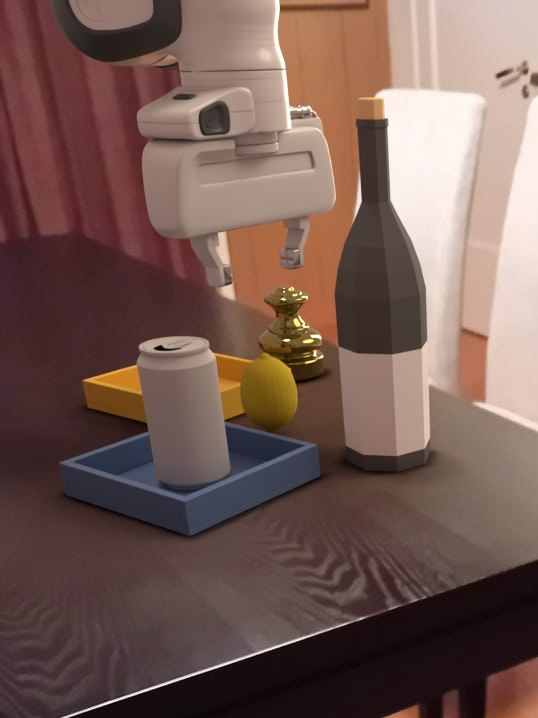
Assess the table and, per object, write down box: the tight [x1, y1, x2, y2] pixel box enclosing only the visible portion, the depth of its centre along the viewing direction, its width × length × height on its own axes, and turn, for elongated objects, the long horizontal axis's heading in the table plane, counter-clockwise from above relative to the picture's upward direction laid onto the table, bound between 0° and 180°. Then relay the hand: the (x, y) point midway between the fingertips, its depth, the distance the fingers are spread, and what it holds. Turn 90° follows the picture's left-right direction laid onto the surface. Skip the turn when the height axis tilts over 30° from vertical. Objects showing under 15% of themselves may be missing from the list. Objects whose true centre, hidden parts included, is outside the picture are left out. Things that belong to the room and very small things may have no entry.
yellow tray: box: [81, 352, 291, 424], centre depth 110 cm, size 16×16×3 cm
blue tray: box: [58, 421, 321, 537], centre depth 89 cm, size 16×16×3 cm
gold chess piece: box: [257, 284, 325, 382], centre depth 117 cm, size 7×7×10 cm
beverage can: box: [136, 335, 230, 490], centre depth 86 cm, size 6×6×12 cm
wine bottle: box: [334, 97, 431, 473], centre depth 88 cm, size 8×8×30 cm
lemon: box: [240, 353, 299, 434], centre depth 99 cm, size 6×6×8 cm
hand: (258, 276), depth 94 cm, fingers open, 8 cm apart
